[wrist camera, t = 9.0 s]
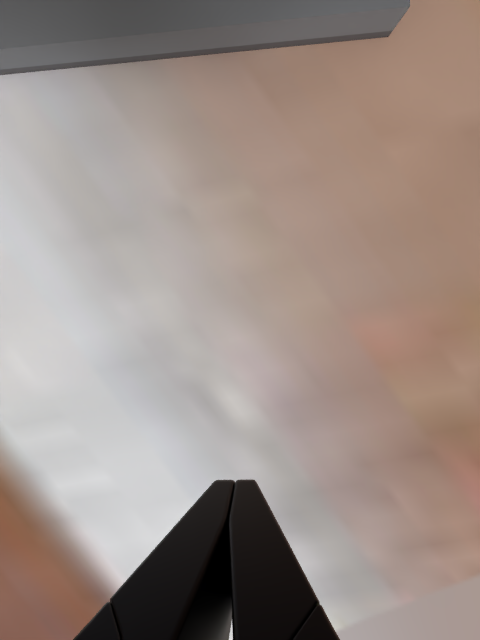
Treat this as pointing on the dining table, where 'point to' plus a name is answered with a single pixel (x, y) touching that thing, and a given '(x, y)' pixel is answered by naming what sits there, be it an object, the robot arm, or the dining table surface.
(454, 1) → the dining table surface
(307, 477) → the dining table surface
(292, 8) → the panel
